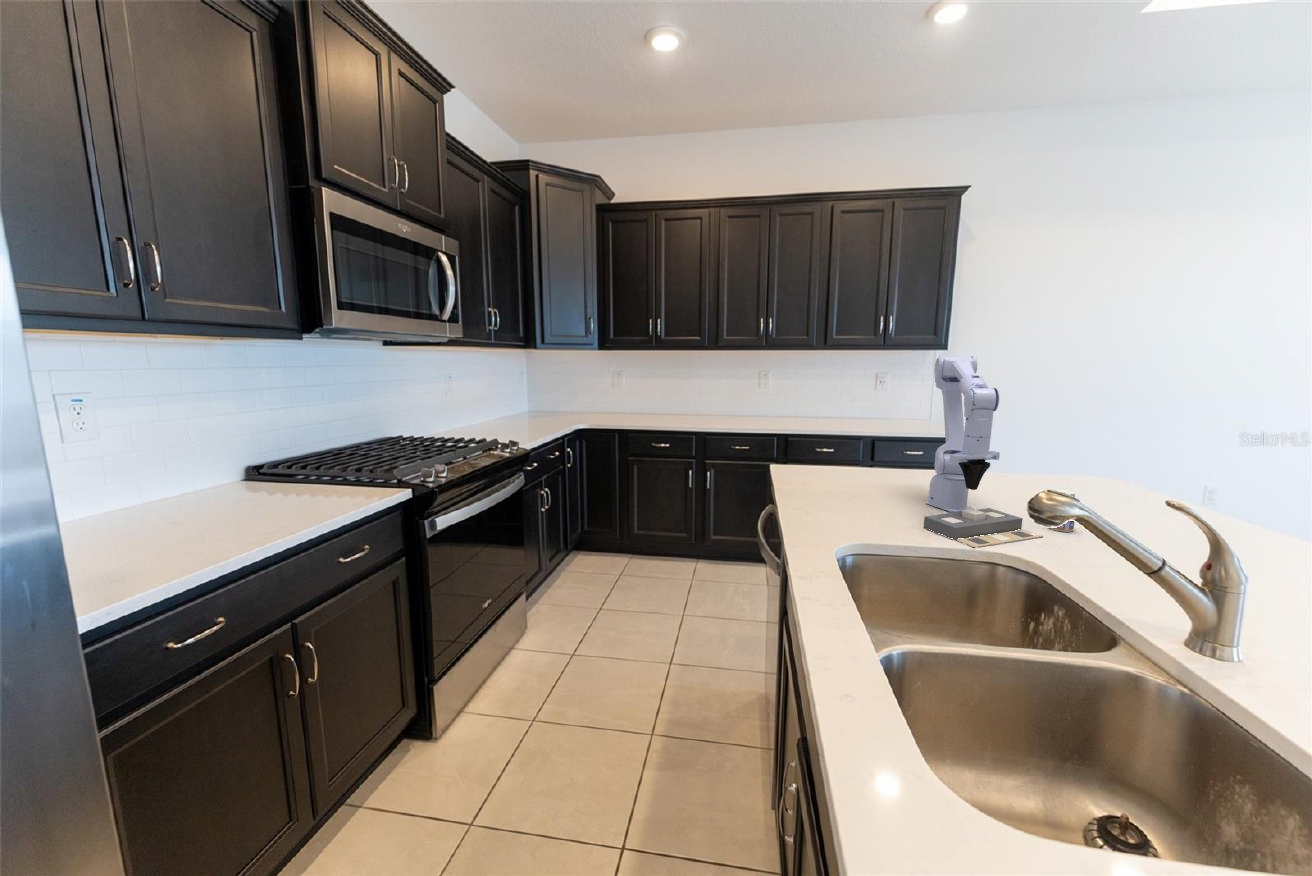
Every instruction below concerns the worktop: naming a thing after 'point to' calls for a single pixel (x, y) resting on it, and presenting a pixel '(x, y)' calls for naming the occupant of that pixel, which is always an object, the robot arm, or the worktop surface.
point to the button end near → (952, 520)
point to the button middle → (973, 514)
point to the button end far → (995, 514)
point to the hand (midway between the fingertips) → (971, 488)
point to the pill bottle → (1070, 524)
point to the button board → (972, 524)
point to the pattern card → (998, 538)
